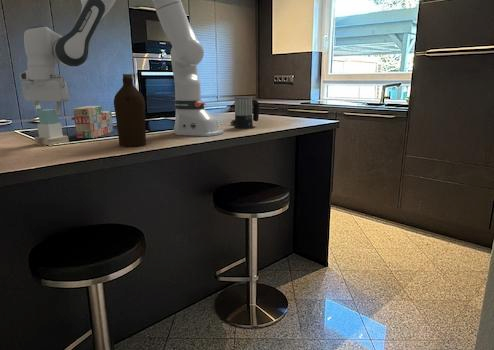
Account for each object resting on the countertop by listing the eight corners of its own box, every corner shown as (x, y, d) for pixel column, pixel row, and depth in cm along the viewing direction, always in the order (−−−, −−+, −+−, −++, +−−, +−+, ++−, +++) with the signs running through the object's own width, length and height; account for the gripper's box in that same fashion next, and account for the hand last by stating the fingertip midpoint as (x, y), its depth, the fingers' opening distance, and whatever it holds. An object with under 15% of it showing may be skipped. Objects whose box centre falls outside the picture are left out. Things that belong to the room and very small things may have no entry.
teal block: (59, 123, 136) (57, 109, 134) (48, 124, 132) (45, 110, 131) (51, 122, 138) (48, 108, 136) (39, 123, 134) (37, 110, 132)
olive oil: (153, 144, 134) (148, 74, 127) (125, 148, 127) (119, 74, 120) (139, 141, 141) (134, 74, 135) (112, 144, 134) (105, 74, 128)
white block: (62, 136, 138) (60, 122, 137) (50, 138, 133) (48, 124, 132) (51, 135, 140) (49, 122, 139) (39, 137, 135) (37, 124, 134)
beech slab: (69, 143, 139) (68, 135, 138) (50, 147, 132) (48, 139, 131) (54, 142, 142) (53, 134, 142) (35, 145, 136) (34, 137, 135)
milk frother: (246, 129, 174) (246, 97, 170) (219, 126, 183) (219, 96, 179) (261, 126, 186) (261, 96, 182) (235, 123, 194) (235, 95, 190)
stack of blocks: (100, 131, 168) (97, 104, 165) (113, 131, 168) (111, 104, 164) (76, 139, 147) (72, 108, 144) (91, 139, 147) (88, 108, 144)
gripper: (71, 74, 129) (75, 114, 132) (32, 75, 137) (38, 112, 141) (55, 74, 123) (60, 116, 127) (16, 74, 132) (22, 113, 135)
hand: (48, 114), depth 134 cm, fingers open, 8 cm apart
